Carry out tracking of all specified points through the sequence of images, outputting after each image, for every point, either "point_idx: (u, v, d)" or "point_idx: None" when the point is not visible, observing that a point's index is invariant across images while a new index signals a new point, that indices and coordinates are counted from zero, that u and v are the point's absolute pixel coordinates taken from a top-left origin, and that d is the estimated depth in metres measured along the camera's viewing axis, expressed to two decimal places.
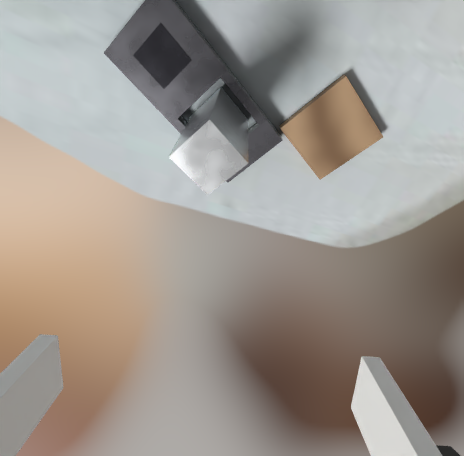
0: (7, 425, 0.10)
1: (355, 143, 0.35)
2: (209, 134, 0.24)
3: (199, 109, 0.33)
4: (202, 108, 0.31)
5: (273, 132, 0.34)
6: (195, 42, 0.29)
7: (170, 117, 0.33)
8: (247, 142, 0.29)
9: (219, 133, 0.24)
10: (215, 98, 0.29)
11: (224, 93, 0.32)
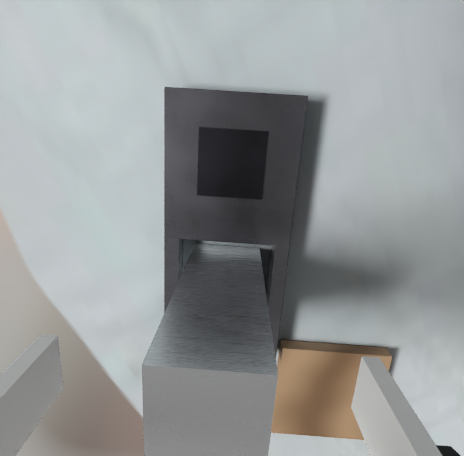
0: (7, 425, 0.10)
1: (340, 425, 0.25)
2: (252, 392, 0.11)
3: (216, 254, 0.20)
4: (225, 263, 0.19)
5: None
6: (285, 188, 0.19)
7: (170, 229, 0.20)
8: None
9: (270, 404, 0.11)
10: (258, 275, 0.18)
11: None
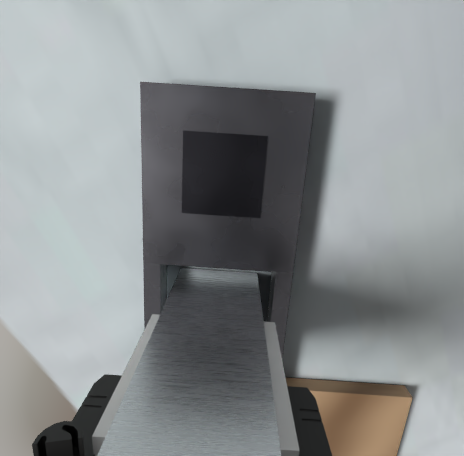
0: None
1: None
2: None
3: (205, 282, 0.17)
4: (216, 295, 0.16)
5: None
6: (288, 204, 0.16)
7: (151, 253, 0.17)
8: None
9: None
10: (256, 313, 0.14)
11: None
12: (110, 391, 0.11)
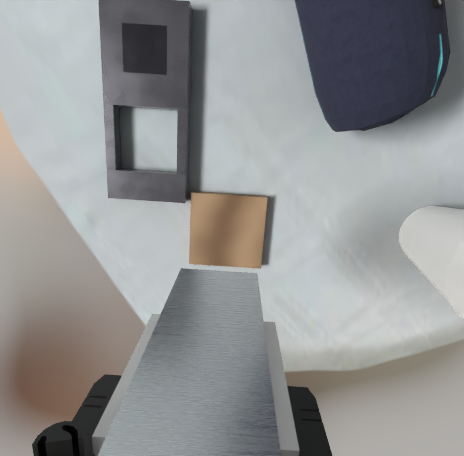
0: None
1: (237, 256, 0.35)
2: None
3: (205, 282, 0.17)
4: (215, 295, 0.16)
5: (183, 190, 0.32)
6: (180, 66, 0.29)
7: (107, 97, 0.30)
8: None
9: None
10: (256, 313, 0.14)
11: None
12: (110, 391, 0.11)
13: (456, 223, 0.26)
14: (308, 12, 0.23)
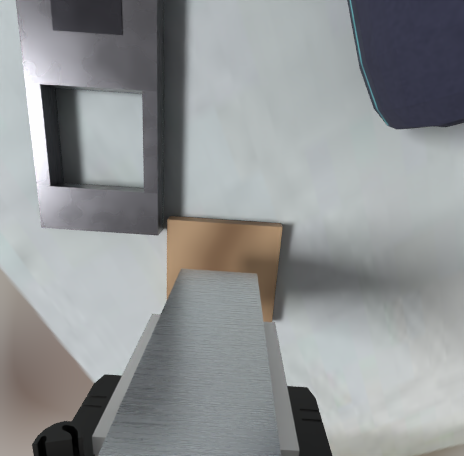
0: None
1: None
2: None
3: (205, 283, 0.17)
4: (215, 296, 0.16)
5: (154, 216, 0.21)
6: (145, 20, 0.18)
7: (30, 73, 0.19)
8: None
9: None
10: (256, 313, 0.14)
11: None
12: (110, 391, 0.11)
13: None
14: None
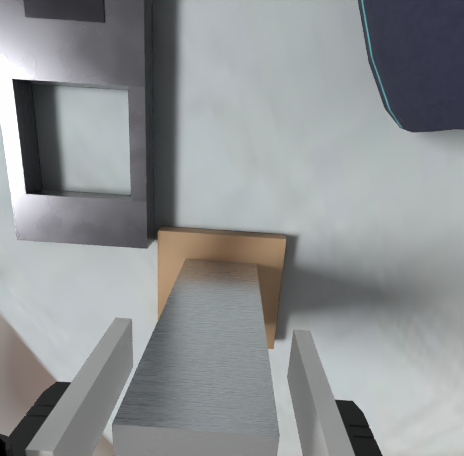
0: (104, 393, 0.12)
1: None
2: None
3: (208, 271, 0.18)
4: (218, 282, 0.17)
5: (143, 227, 0.19)
6: (130, 5, 0.16)
7: (1, 66, 0.17)
8: None
9: None
10: (254, 297, 0.16)
11: None
12: (59, 399, 0.11)
13: None
14: None
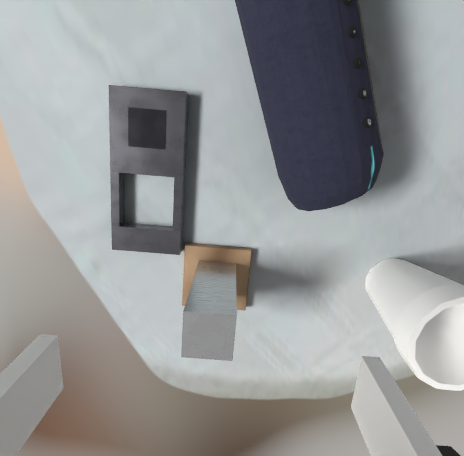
0: (7, 425, 0.10)
1: None
2: (226, 323, 0.27)
3: (211, 266, 0.36)
4: (216, 271, 0.35)
5: (178, 244, 0.37)
6: (177, 142, 0.34)
7: (114, 166, 0.35)
8: None
9: (234, 328, 0.27)
10: (233, 278, 0.34)
11: None
12: None
13: (406, 283, 0.31)
14: (269, 119, 0.29)
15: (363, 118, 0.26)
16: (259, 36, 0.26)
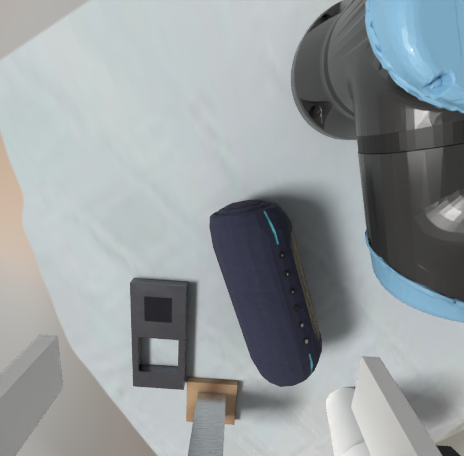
0: (7, 425, 0.10)
1: None
2: None
3: (207, 400, 0.49)
4: (210, 408, 0.47)
5: (182, 382, 0.49)
6: (180, 318, 0.46)
7: (134, 333, 0.47)
8: None
9: None
10: (222, 416, 0.46)
11: (225, 401, 0.50)
12: None
13: (346, 428, 0.43)
14: (240, 326, 0.41)
15: (302, 339, 0.38)
16: (230, 285, 0.38)
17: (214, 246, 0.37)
